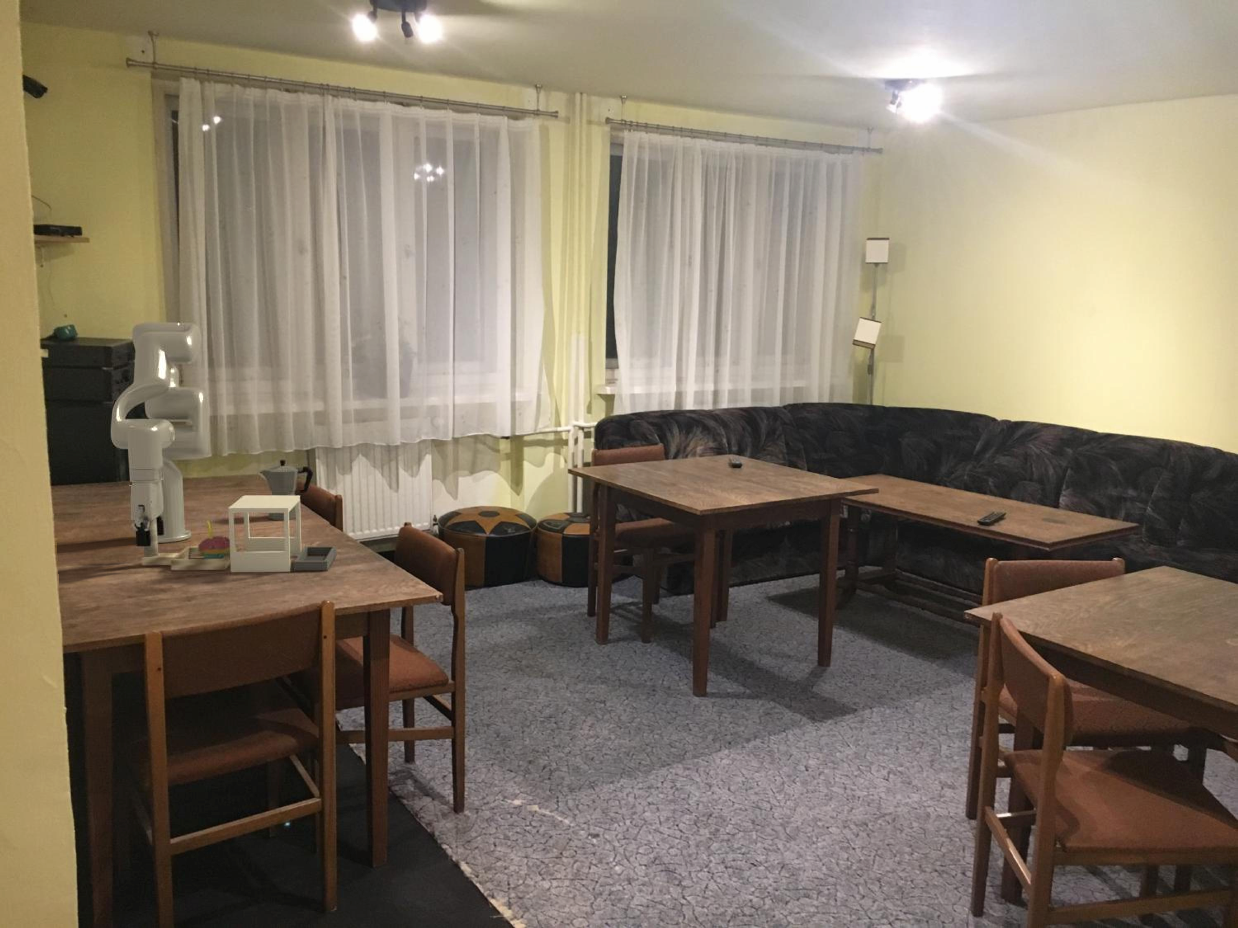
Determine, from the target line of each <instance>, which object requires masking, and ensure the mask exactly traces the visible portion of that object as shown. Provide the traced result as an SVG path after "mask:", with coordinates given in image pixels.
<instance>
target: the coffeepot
mask: <svg viewBox="0 0 1238 928" xmlns="http://www.w3.org/2000/svg"><path fill="white" fill-rule="evenodd" d="M279 464H280V465H278V466H274V467H270V468H267V469H266V468H265V469H263V470H262V469H261V470H260V472H259V473H260V474H262V476H263V477H264V478H265V480H266V481H267V483H268V485H269V490H270V492H271V495H280V496H296V490H297V488H298V478H299V474H305V473H307V474H306V476H305V482H304V485H303V489H300V490H299V492H300V494H305V493H308V491H309V488H310V484H311V481H312V479H313V475H314V472H313V470H312V469H311V468H310V467H309V466H296V467H294V466H289V465H286V460H285V459H281V460H279ZM268 518H269V519H270V520H272V521H284V513H268ZM291 519H292V520H296V505H295V506H294V507H293V508H292V509H291V510H290V511H289V521H291Z"/></svg>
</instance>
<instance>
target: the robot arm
mask: <svg viewBox="0 0 1238 928" xmlns="http://www.w3.org/2000/svg"><path fill="white" fill-rule="evenodd" d="M131 338H132V343H133V346H134V349H135V355H134V371H133V372H134V373H133V375H134V376H133V382H132V384H131V385H130V386H128V387H127V388H126V389H125V390H124V391H123V392H122V393H121V394H120V395H119V396H118V398H117V399H116V400H115V403H114V405H113V408H112V413H111V423H110V438H111V442H112V443H113V445H114V446H115V447H116V448H118V449H122V450H128V451H127V453H128V455H127V456H128V468H129V482H131V484H132V486H131V490H130V518H131V519H130V520H131V521H132V522H134V523H131V525H130V529H131V531H132V532H135V541H136V542H135V544H136V547H144V546H150V545H151V536H150V530H148V529H149V524H150V521H152V520H154V519H155V518H156V522H157V541H158V544H161V543H162V544H163V543H173V542H175V543H176V542H179V541H184V540H186V539H189V538H190V537H191V536H192V532H191V530H190V529H186V527H185V507H184V506H185V505H184V504H185V503H184V489H183V488H184V487H183V475H182V473H181V471H180V469H179V468H178V466H176V464H174V463H173V461H176V460H200V459H203V458H205V457H206V456H207V455H208V453H209V452H208V451H209V445H210V442H209V441H210V440H209V437H210V436H209V432H210V431H209V429H210V427H209V402H208V397H207V394H206V392H205V391H204V390H203V389H201V388H199V387H192V386H190V387H189V386H188V387H186V386H185V387H184V386H183V387H182V386H180V385H179V383H180V380H179V378H180V377H179V375H180V372H179V369H178V368H177V367H176V366H175V364H182V365H184V364H185V365H188V364H189V365H190V364H193V363H195V361H196V360H197V358H198V356H199V353H200V350H201V347H202V342H203V341H202V339H203V337H202V331H201V329H200V327H199V326H198V325H197V324H195V323H192V322H168V321H167V322H165V321H149V322H140V323H137V324H135V325H134V326H133V327H132V330H131ZM142 403H144V410H145V415H146V417H147V418H126V416H127V414H128V413H129V412H130V411H131V410H132V409H133V408H135V407H136V406H138V405H139V404H142ZM172 422H188V423H190V424H172ZM143 522H146V524H144V523H143Z"/></svg>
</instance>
